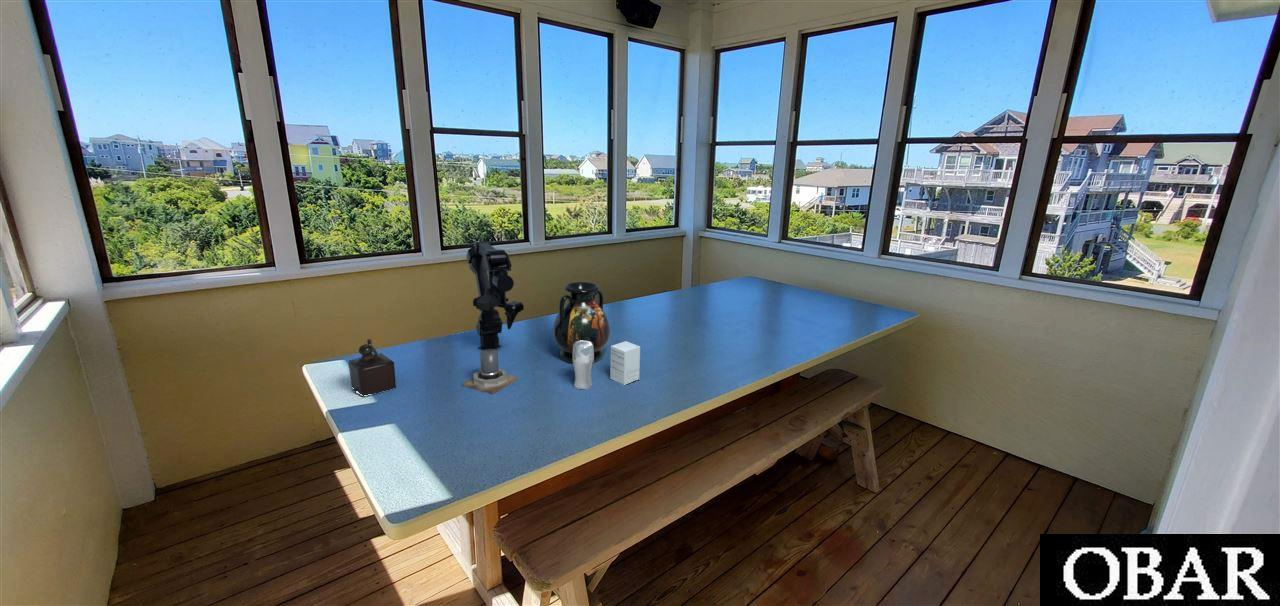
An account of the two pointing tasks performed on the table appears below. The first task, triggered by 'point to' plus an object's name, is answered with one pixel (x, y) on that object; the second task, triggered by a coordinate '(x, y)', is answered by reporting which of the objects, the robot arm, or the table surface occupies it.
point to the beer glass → (583, 363)
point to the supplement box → (625, 362)
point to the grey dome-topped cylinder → (489, 364)
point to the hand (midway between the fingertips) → (498, 327)
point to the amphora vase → (581, 320)
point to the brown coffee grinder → (371, 371)
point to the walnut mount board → (490, 389)
